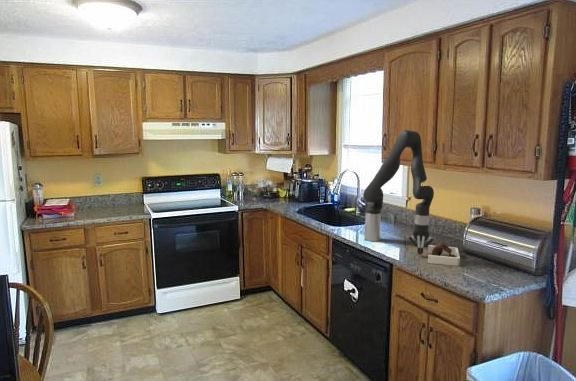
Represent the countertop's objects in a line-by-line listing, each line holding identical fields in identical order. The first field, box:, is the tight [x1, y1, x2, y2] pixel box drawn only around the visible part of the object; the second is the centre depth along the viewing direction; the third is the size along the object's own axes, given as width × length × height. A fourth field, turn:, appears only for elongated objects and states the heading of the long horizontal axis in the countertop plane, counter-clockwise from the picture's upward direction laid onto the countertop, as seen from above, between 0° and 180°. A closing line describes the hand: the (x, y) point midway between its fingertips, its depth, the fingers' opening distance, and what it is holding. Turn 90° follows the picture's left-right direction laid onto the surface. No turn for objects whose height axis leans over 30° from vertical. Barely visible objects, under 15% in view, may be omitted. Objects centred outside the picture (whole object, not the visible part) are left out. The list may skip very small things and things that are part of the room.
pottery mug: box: [430, 242, 452, 257], centre depth 215 cm, size 12×10×8 cm
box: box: [427, 244, 461, 267], centre depth 212 cm, size 15×20×4 cm
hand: (420, 254), depth 217 cm, fingers closed
